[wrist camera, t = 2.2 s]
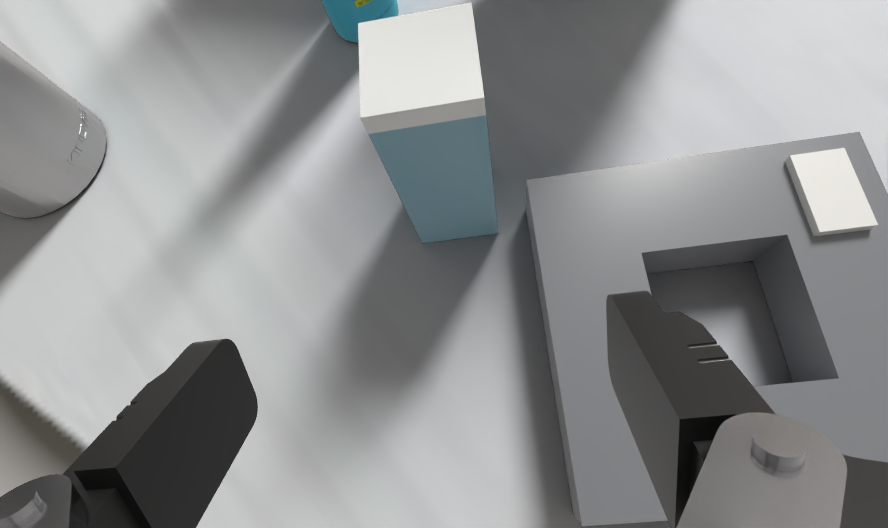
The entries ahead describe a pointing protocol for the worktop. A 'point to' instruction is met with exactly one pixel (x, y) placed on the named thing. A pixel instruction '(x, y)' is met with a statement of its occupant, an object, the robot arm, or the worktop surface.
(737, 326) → the worktop surface
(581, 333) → the socket
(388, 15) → the tube
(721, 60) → the worktop surface
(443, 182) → the white-topped blue pillar
